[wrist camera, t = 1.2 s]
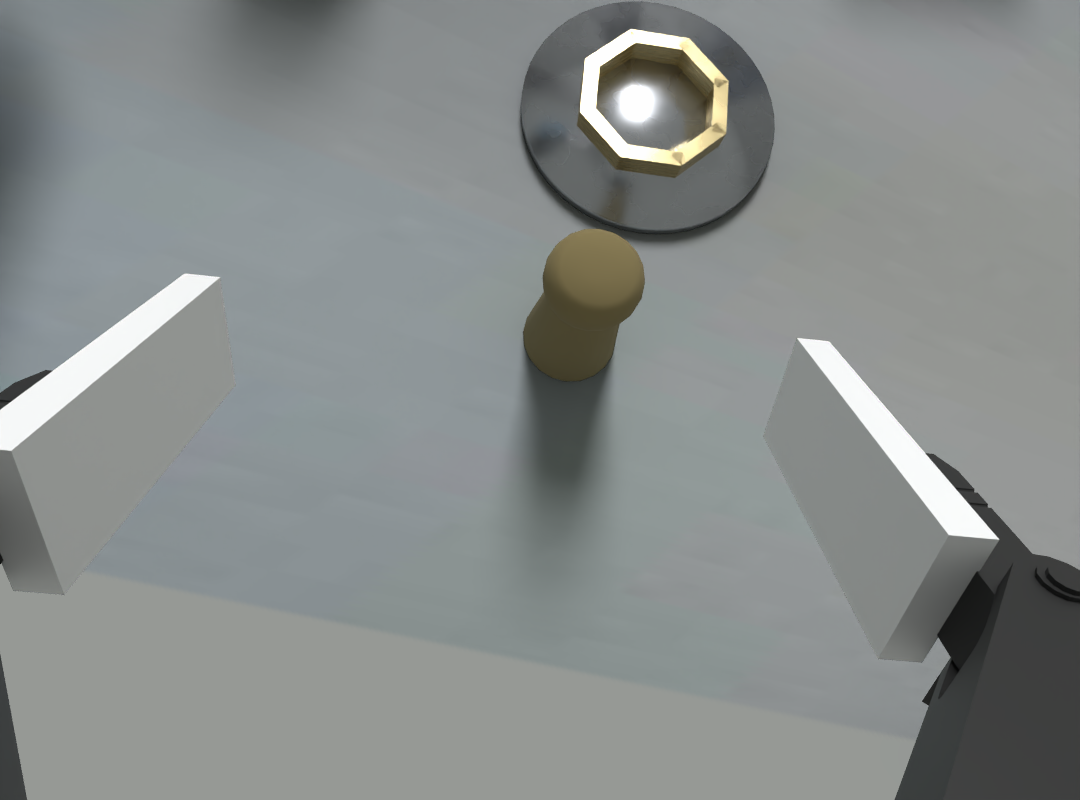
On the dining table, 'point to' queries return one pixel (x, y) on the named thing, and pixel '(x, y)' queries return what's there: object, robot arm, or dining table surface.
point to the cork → (583, 304)
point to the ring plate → (647, 117)
